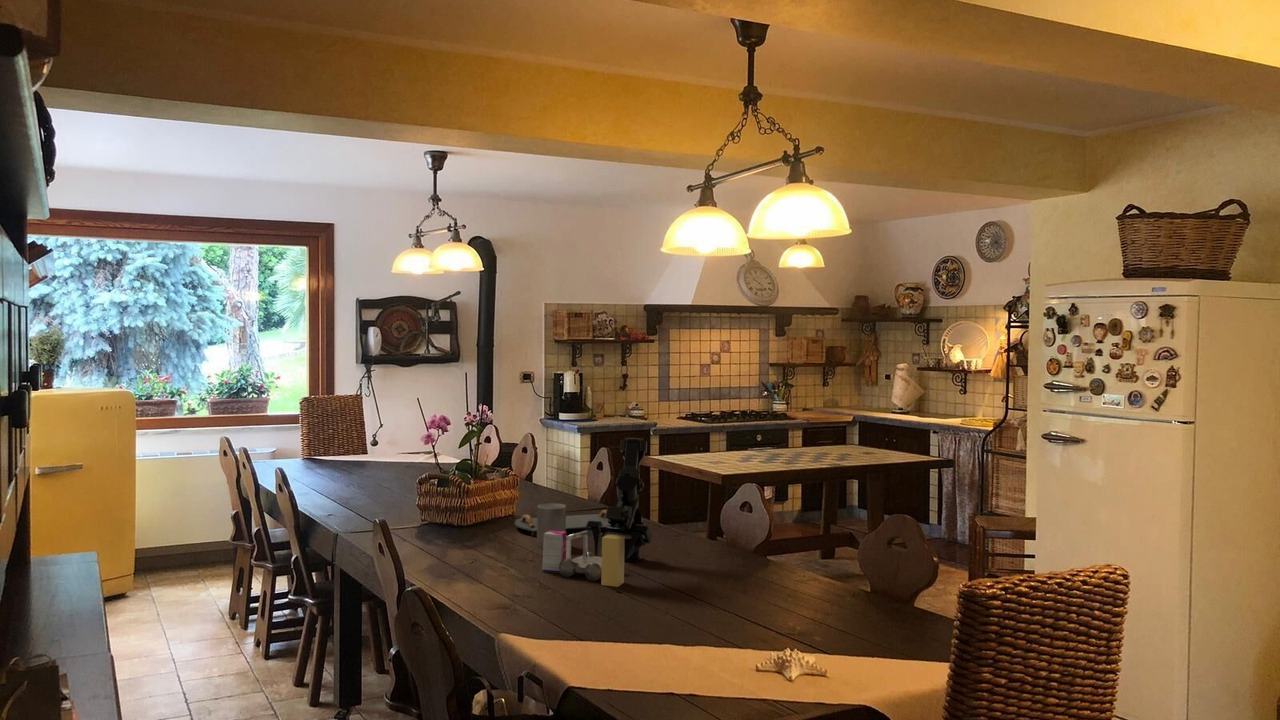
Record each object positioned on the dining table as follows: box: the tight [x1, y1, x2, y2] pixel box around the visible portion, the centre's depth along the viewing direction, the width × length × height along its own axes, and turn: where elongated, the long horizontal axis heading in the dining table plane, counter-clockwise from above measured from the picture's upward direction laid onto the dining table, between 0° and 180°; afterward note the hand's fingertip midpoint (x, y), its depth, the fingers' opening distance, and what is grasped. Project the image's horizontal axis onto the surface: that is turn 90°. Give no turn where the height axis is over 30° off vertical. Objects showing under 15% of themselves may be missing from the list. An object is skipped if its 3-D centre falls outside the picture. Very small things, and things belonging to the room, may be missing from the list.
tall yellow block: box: [600, 534, 625, 588], centre depth 272 cm, size 5×5×14 cm
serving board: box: [514, 509, 611, 537], centre depth 352 cm, size 39×23×6 cm, turn 113°
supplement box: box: [542, 530, 568, 574], centre depth 287 cm, size 6×6×12 cm
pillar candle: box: [536, 502, 567, 550], centre depth 320 cm, size 10×10×15 cm
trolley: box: [559, 529, 602, 582], centre depth 283 cm, size 13×14×12 cm
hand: (611, 556), depth 271 cm, fingers open, 9 cm apart
